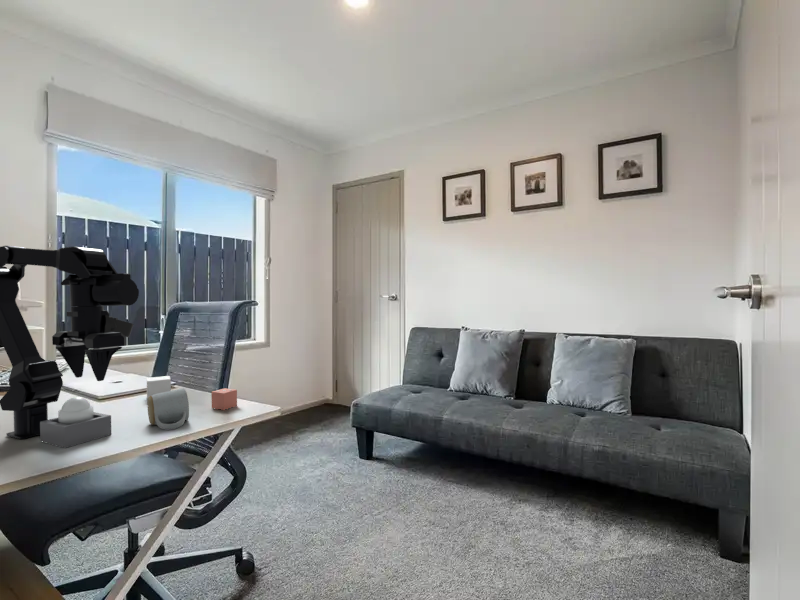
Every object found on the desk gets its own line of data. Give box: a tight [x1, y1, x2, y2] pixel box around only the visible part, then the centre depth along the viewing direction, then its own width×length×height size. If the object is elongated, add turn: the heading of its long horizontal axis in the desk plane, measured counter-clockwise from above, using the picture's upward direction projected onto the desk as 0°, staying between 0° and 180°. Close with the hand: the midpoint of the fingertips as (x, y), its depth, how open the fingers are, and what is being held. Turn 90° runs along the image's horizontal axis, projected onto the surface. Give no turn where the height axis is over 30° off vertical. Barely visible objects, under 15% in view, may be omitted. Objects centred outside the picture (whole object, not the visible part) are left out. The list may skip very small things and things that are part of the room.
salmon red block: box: [211, 387, 238, 411], centre depth 116 cm, size 4×4×5 cm
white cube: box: [146, 375, 172, 401], centre depth 127 cm, size 6×6×6 cm
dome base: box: [39, 411, 112, 449], centre depth 92 cm, size 9×9×4 cm
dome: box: [57, 396, 94, 425], centre depth 92 cm, size 6×6×5 cm
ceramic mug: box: [146, 387, 190, 431], centre depth 101 cm, size 11×8×8 cm
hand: (89, 379), depth 92 cm, fingers open, 9 cm apart
